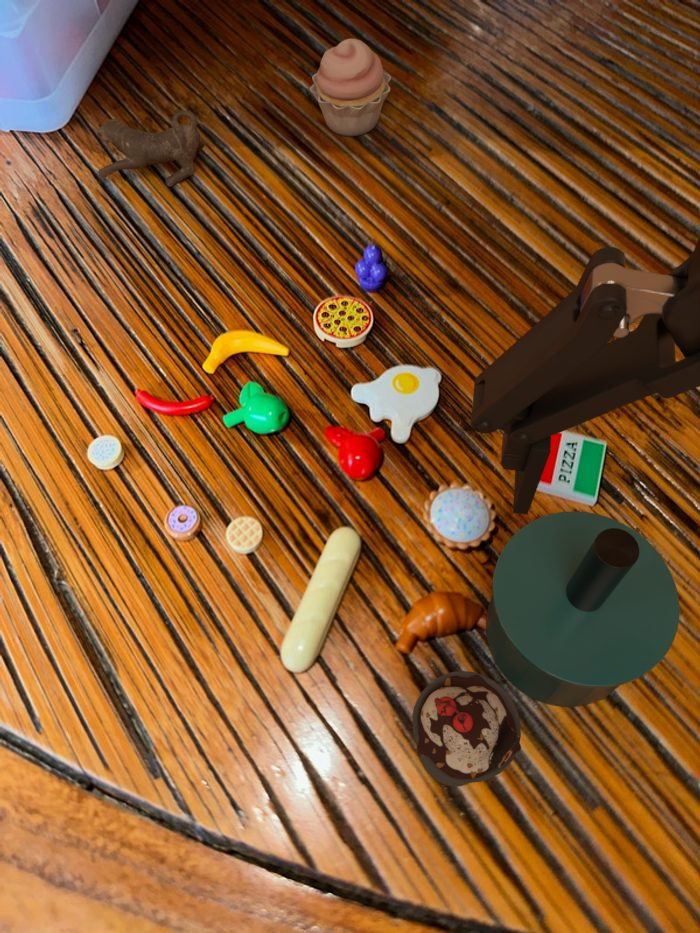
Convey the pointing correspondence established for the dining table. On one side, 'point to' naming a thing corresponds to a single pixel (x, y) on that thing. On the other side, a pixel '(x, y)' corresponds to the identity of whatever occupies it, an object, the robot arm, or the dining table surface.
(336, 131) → the cupcake
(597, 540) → the lid
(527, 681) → the pot
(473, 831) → the dining table surface
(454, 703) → the sundae
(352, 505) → the dining table surface
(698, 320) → the robot arm
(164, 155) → the dog figurine
